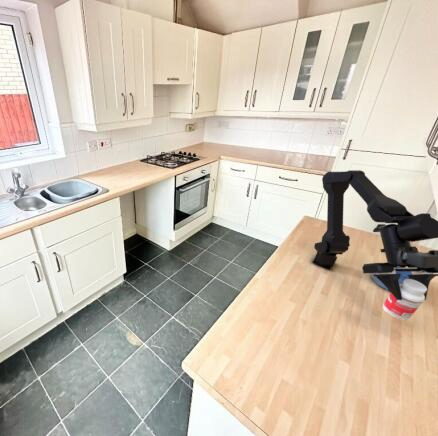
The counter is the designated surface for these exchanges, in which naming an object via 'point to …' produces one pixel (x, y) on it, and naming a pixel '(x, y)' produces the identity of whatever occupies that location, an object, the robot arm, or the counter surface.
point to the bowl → (403, 274)
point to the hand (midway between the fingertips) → (411, 299)
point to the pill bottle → (406, 300)
